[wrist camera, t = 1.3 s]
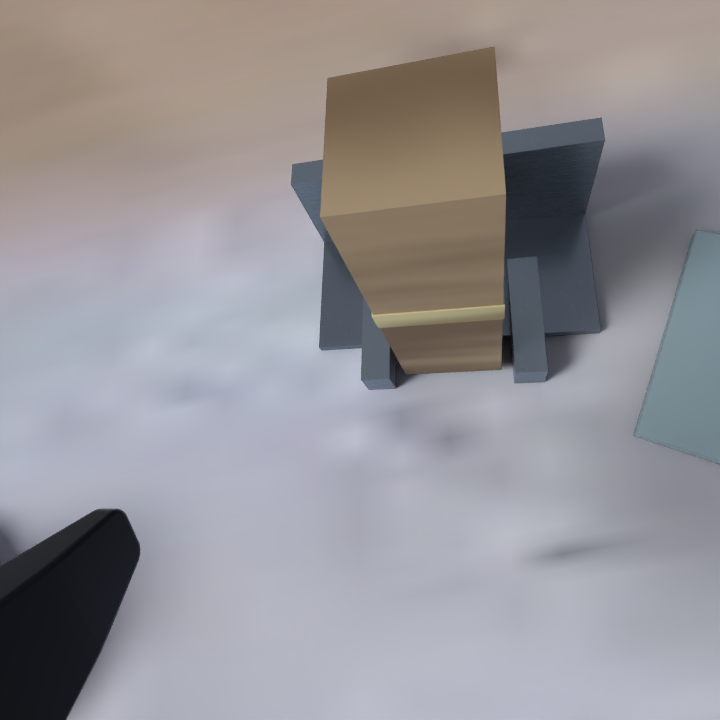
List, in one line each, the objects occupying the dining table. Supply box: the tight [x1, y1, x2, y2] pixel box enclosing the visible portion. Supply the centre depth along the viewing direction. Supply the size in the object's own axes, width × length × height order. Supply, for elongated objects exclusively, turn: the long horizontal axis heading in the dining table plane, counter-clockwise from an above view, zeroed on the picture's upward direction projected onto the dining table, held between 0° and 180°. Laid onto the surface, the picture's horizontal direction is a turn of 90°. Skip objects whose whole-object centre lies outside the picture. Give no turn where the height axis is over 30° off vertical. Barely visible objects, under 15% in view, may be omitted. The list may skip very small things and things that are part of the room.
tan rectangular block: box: [320, 47, 506, 374], centre depth 17 cm, size 4×4×12 cm
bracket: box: [291, 118, 605, 390], centre depth 22 cm, size 8×12×5 cm
